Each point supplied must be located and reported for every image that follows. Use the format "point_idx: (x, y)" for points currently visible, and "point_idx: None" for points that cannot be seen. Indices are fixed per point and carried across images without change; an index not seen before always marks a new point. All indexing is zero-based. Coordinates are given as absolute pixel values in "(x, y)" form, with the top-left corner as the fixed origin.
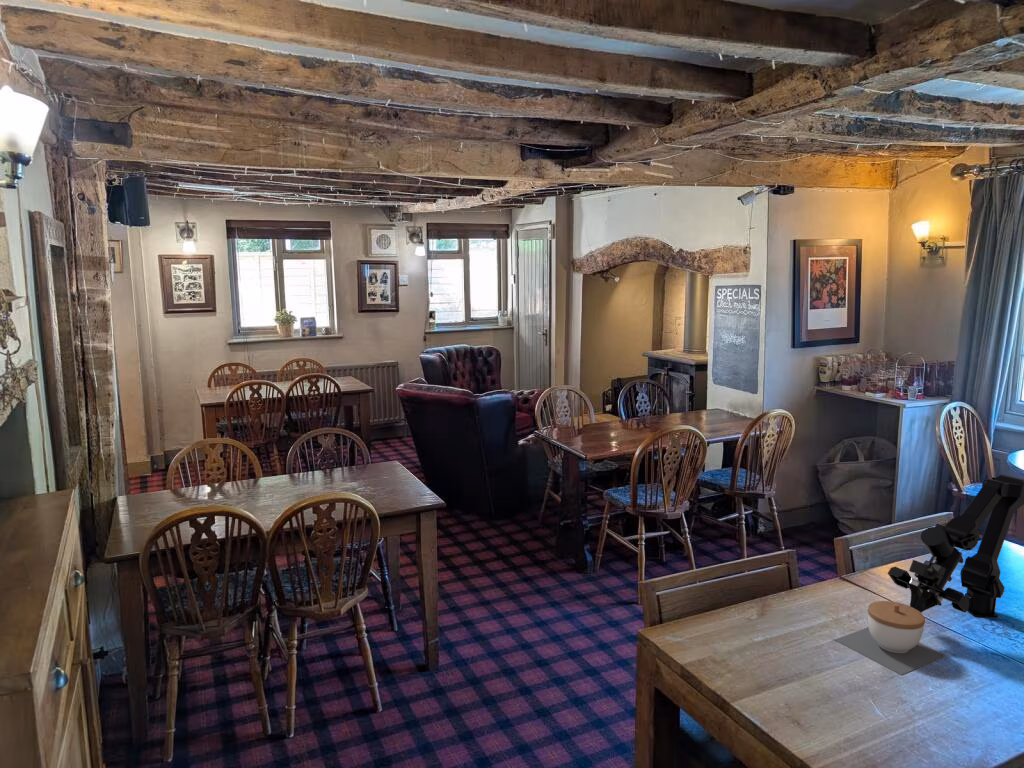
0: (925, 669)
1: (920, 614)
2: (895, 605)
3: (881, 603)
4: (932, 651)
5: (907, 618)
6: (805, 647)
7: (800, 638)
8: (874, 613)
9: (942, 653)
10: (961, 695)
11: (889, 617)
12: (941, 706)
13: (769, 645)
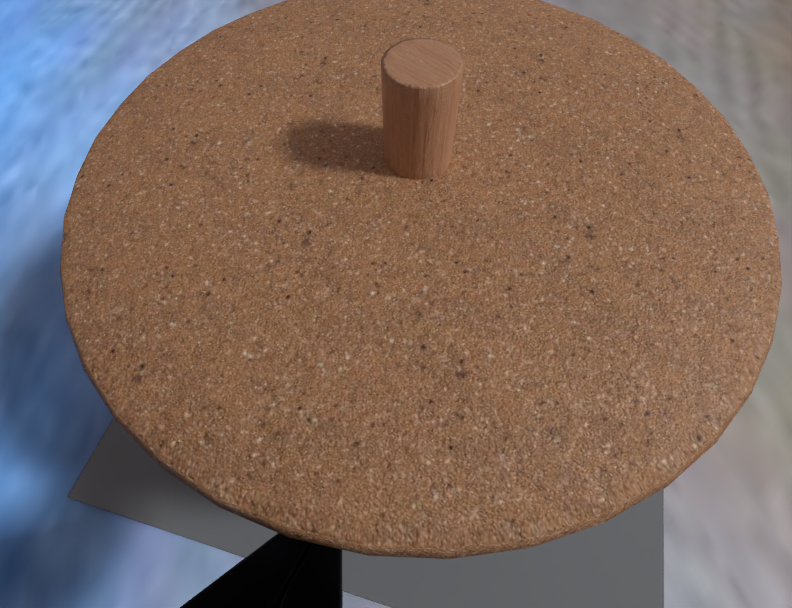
0: None
1: (111, 305)
2: (431, 41)
3: (679, 247)
4: (166, 478)
5: (256, 86)
6: (681, 68)
7: (757, 111)
8: (563, 13)
9: (96, 504)
10: (38, 136)
11: (417, 11)
12: (123, 40)
13: (765, 8)
